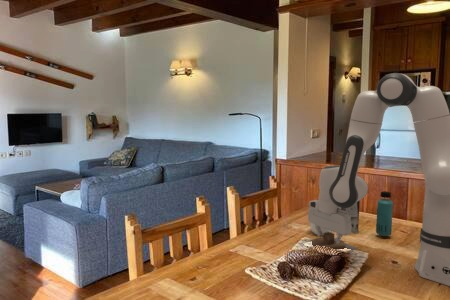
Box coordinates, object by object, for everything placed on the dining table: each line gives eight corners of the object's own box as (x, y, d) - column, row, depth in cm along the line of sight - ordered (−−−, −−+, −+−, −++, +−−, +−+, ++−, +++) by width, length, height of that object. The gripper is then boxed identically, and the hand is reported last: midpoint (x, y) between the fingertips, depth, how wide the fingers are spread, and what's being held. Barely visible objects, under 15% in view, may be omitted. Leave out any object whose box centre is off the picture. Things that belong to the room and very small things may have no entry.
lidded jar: (336, 233, 170) (337, 212, 169) (329, 240, 161) (330, 218, 160) (313, 229, 176) (314, 209, 175) (305, 235, 167) (306, 214, 166)
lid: (352, 248, 151) (353, 235, 150) (329, 254, 144) (329, 241, 143) (328, 238, 162) (328, 226, 161) (305, 244, 155) (305, 231, 155)
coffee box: (358, 233, 170) (360, 198, 168) (344, 233, 170) (345, 198, 168) (352, 227, 179) (353, 193, 177) (338, 226, 179) (339, 193, 177)
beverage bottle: (388, 234, 169) (391, 190, 166) (393, 239, 162) (396, 193, 160) (373, 234, 169) (375, 189, 167) (377, 239, 163) (380, 193, 160)
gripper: (356, 211, 144) (354, 246, 145) (317, 199, 161) (316, 230, 163) (344, 213, 141) (342, 249, 142) (306, 201, 158) (304, 233, 160)
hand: (328, 239), depth 153 cm, fingers open, 8 cm apart
